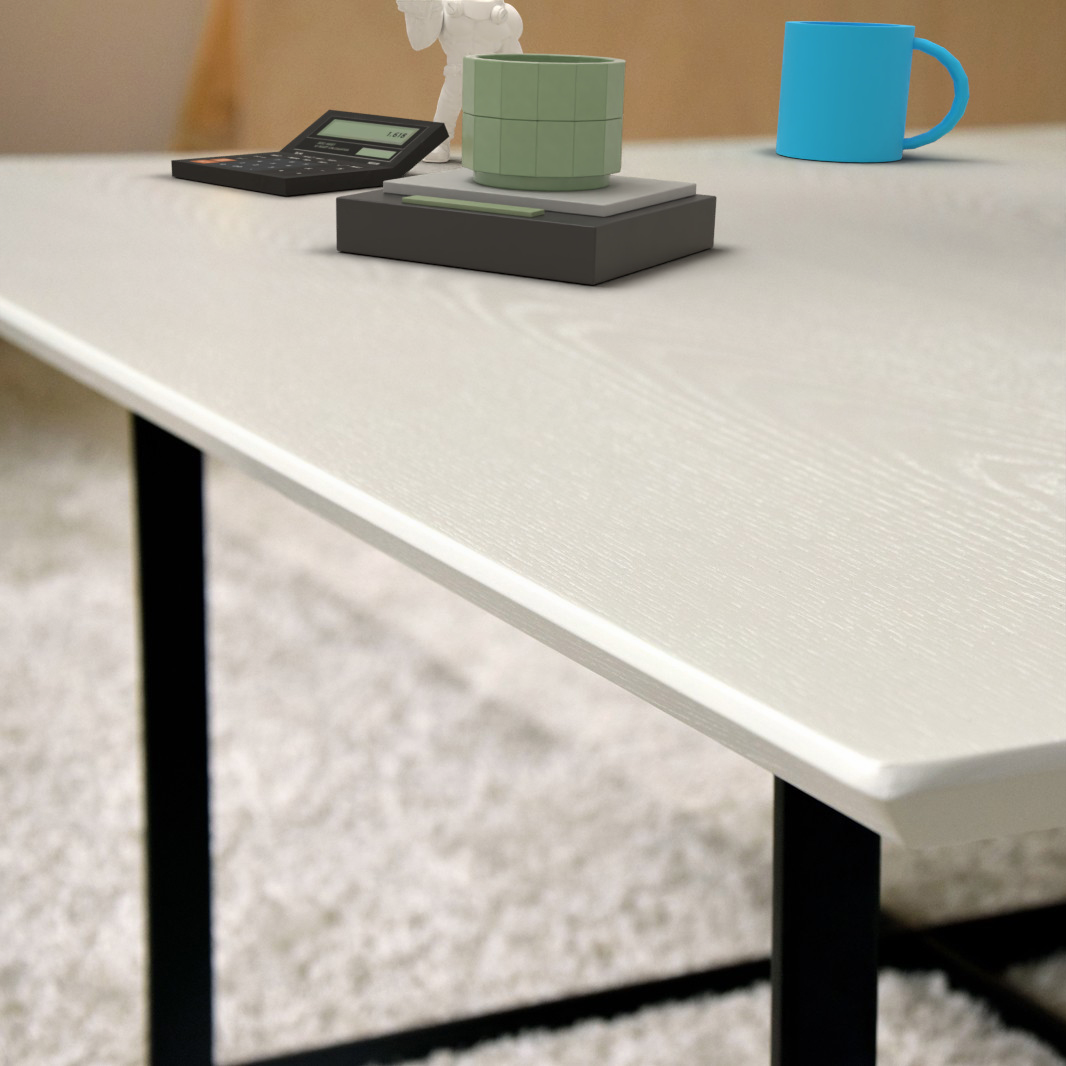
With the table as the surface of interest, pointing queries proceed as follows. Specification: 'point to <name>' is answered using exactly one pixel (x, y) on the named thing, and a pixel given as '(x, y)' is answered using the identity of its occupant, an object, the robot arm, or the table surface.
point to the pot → (542, 120)
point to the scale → (528, 225)
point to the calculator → (325, 156)
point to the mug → (855, 91)
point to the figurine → (459, 45)
